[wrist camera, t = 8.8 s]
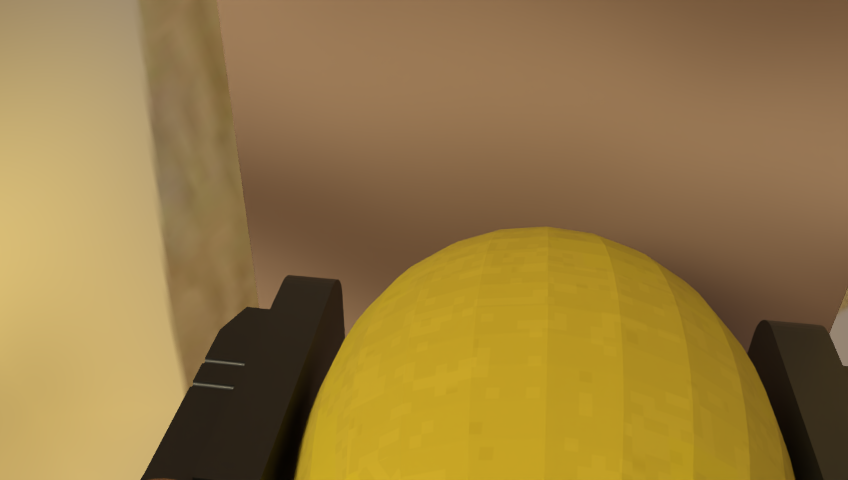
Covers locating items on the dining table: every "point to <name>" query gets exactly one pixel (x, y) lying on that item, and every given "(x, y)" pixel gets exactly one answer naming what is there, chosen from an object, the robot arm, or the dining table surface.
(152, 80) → the dining table surface
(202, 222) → the dining table surface
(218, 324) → the dining table surface
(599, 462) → the lemon
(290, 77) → the stool
